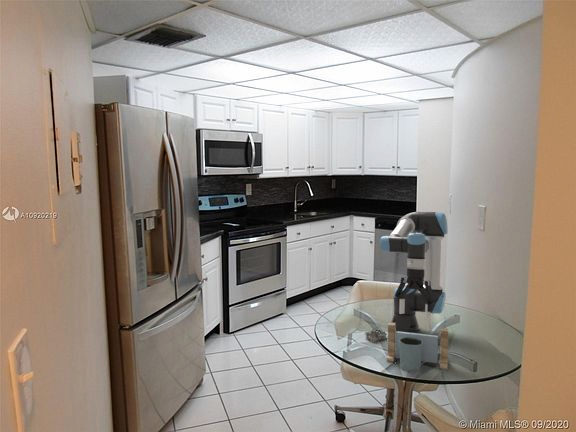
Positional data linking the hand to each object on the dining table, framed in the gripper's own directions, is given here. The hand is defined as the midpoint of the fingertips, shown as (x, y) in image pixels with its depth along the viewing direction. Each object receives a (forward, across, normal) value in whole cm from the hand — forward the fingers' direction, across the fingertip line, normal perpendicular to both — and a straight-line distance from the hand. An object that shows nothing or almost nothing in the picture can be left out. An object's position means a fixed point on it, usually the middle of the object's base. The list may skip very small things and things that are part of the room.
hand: (414, 316), depth 194 cm
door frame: (+21, -2, +6) cm, 22 cm away
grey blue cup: (+22, 0, -2) cm, 22 cm away
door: (+21, -3, +7) cm, 22 cm away
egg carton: (+19, -33, +14) cm, 41 cm away
